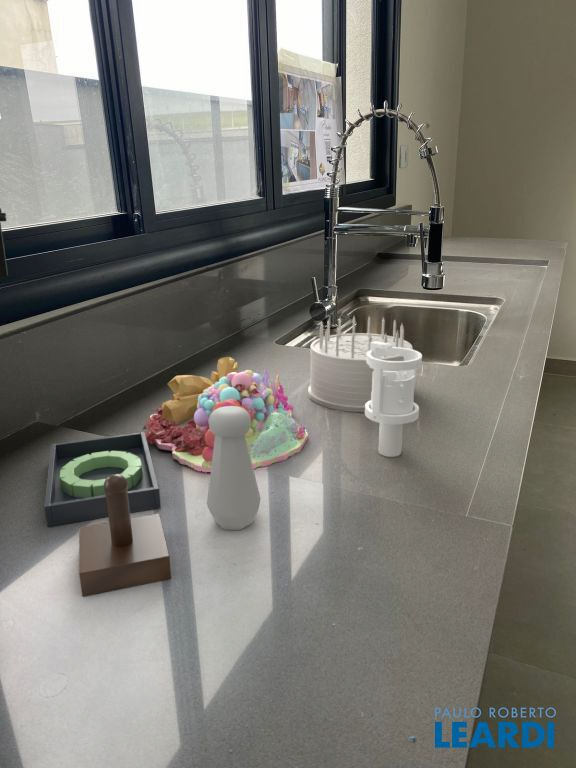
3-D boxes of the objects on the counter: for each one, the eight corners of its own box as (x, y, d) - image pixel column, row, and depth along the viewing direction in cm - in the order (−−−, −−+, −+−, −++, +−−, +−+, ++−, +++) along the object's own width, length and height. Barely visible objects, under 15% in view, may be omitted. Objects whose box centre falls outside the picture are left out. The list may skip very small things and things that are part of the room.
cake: (431, 390, 106) (436, 315, 101) (375, 420, 93) (378, 336, 88) (347, 371, 117) (348, 303, 112) (286, 396, 104) (285, 320, 100)
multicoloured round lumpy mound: (114, 433, 89) (107, 374, 86) (233, 393, 106) (230, 341, 103) (227, 488, 73) (223, 417, 70) (346, 430, 89) (347, 371, 86)
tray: (47, 527, 66) (44, 507, 65) (53, 461, 81) (51, 443, 80) (160, 507, 69) (159, 488, 68) (146, 448, 85) (144, 431, 84)
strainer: (384, 436, 87) (388, 335, 82) (426, 451, 82) (433, 345, 77) (353, 452, 82) (355, 346, 78) (395, 468, 78) (401, 356, 73)
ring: (60, 504, 69) (58, 492, 69) (62, 468, 78) (60, 457, 77) (145, 490, 72) (144, 478, 71) (138, 457, 81) (137, 446, 80)
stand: (82, 596, 55) (68, 503, 51) (82, 548, 62) (69, 463, 59) (171, 578, 57) (163, 487, 54) (161, 533, 64) (153, 451, 61)
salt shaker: (272, 519, 66) (269, 409, 62) (233, 541, 63) (227, 425, 58) (236, 501, 70) (231, 396, 66) (197, 521, 66) (189, 411, 62)
